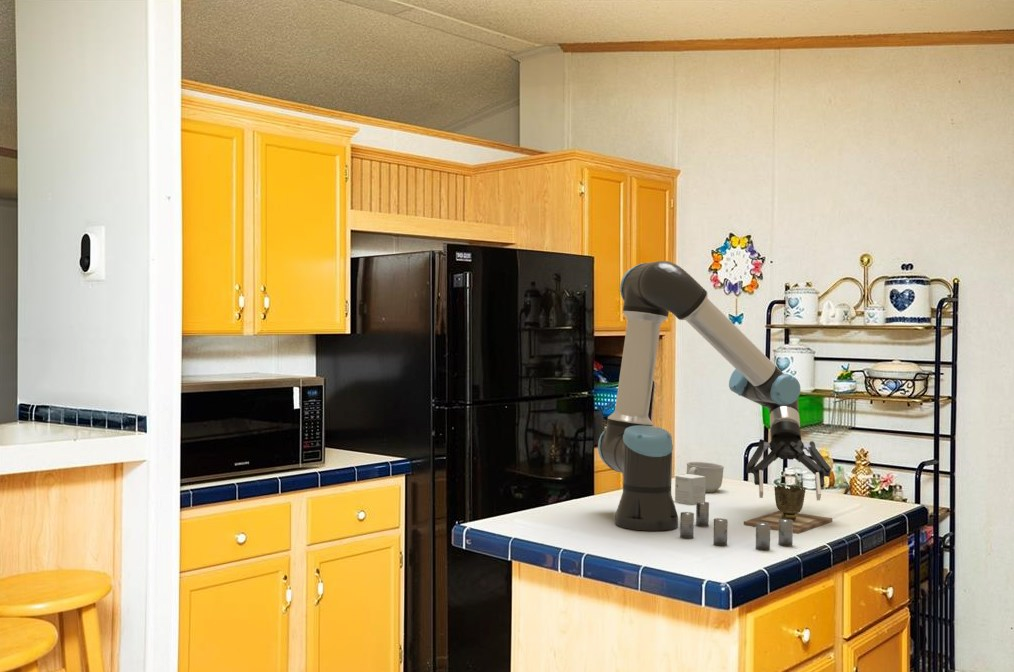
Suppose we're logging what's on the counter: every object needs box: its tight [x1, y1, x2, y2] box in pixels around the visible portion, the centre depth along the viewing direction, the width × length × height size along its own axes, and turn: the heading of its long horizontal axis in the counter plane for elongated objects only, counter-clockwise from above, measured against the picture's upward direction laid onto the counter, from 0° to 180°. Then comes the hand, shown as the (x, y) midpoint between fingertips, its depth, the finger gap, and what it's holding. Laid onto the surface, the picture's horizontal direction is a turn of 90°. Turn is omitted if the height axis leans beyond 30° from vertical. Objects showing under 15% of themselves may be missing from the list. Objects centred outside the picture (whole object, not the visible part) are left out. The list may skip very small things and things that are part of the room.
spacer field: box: [679, 501, 794, 551], centre depth 223 cm, size 22×29×6 cm
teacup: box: [685, 461, 725, 493], centre depth 285 cm, size 14×11×8 cm
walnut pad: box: [743, 510, 833, 534], centre depth 240 cm, size 20×14×1 cm
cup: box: [773, 484, 806, 520], centre depth 240 cm, size 8×7×8 cm
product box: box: [674, 473, 706, 506], centre depth 267 cm, size 6×6×7 cm
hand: (790, 496), depth 237 cm, fingers open, 13 cm apart
